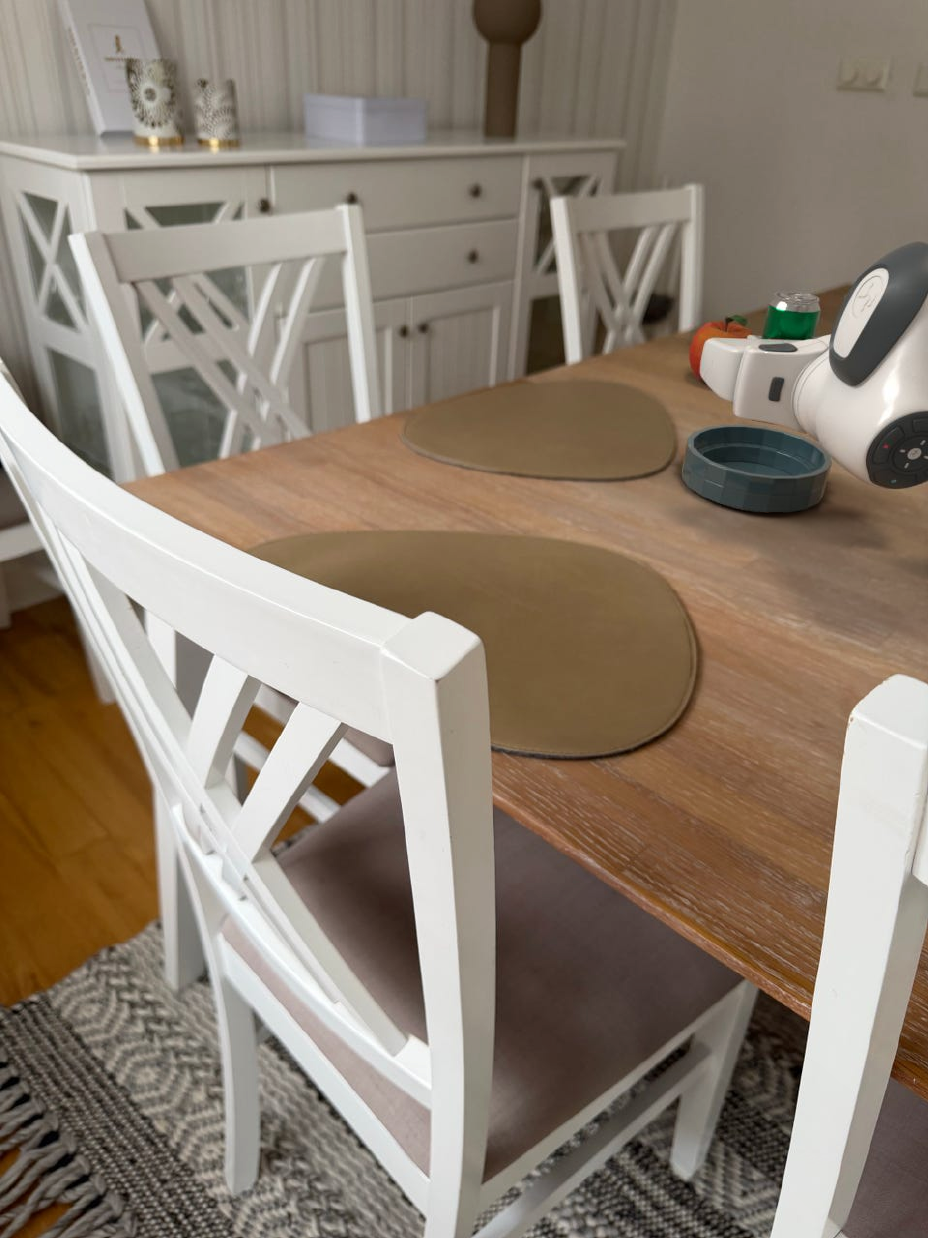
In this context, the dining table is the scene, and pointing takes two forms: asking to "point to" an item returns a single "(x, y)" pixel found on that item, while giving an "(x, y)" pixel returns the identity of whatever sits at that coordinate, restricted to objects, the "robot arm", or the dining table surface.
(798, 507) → the bowl
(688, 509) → the dining table surface
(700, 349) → the fruit
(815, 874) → the dining table surface
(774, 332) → the soda can
